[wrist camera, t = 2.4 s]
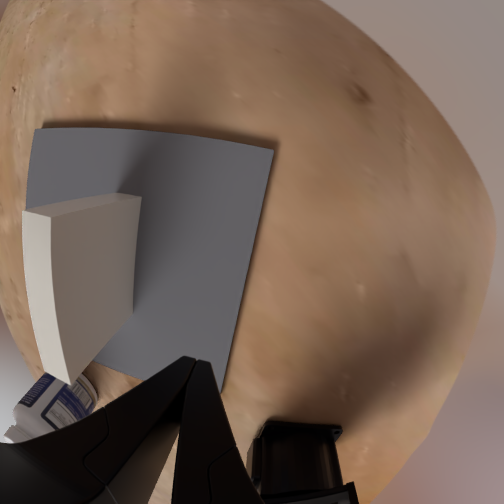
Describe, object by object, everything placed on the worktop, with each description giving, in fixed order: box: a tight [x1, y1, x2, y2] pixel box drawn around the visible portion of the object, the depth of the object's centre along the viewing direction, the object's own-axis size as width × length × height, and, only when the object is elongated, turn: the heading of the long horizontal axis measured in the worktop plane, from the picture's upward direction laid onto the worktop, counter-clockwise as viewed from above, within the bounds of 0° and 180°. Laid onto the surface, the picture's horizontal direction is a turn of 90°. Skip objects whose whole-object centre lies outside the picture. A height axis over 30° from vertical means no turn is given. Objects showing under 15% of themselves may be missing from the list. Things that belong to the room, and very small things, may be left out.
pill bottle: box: [4, 372, 98, 443], centre depth 14 cm, size 5×5×10 cm
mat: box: [26, 128, 274, 393], centre depth 15 cm, size 16×16×1 cm
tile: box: [22, 193, 142, 385], centre depth 11 cm, size 2×7×7 cm, turn 168°
